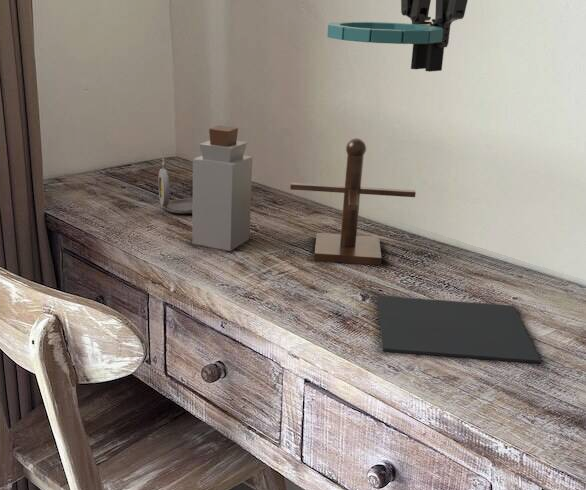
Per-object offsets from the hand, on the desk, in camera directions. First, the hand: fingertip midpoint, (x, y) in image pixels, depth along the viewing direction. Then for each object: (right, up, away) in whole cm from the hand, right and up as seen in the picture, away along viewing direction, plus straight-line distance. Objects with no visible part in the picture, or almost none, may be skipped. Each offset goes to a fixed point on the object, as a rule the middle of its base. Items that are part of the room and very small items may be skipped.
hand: (426, 69), depth 118 cm
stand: (-10, -26, +9) cm, 30 cm away
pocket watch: (-39, -18, +26) cm, 50 cm away
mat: (0, -37, -16) cm, 40 cm away
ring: (-6, +3, -7) cm, 10 cm away
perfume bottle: (-30, -24, +12) cm, 41 cm away
